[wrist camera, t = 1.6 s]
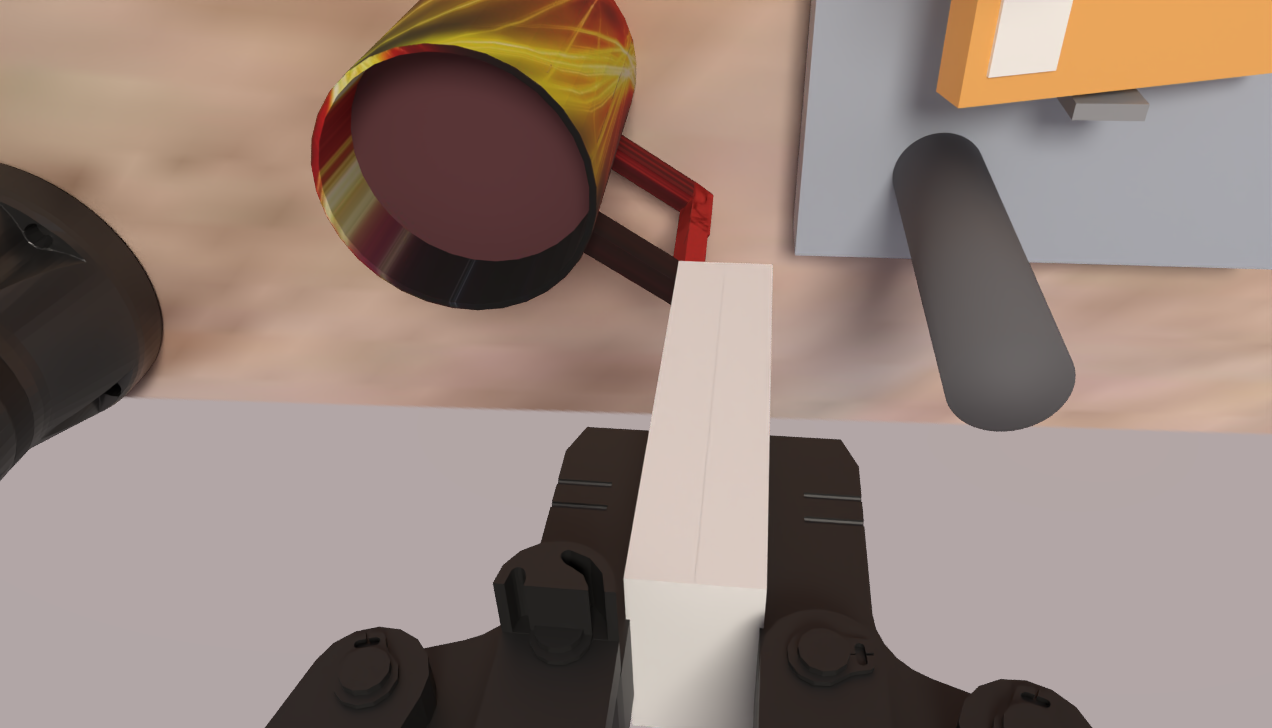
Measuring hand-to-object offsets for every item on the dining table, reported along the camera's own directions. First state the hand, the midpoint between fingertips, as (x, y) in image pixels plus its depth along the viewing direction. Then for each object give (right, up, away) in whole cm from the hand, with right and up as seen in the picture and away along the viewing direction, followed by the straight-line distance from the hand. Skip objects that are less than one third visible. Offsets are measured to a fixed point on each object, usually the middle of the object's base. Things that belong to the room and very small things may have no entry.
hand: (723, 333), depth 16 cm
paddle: (+15, +12, +15) cm, 24 cm away
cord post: (+11, +7, +23) cm, 26 cm away
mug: (-4, +12, +25) cm, 28 cm away
